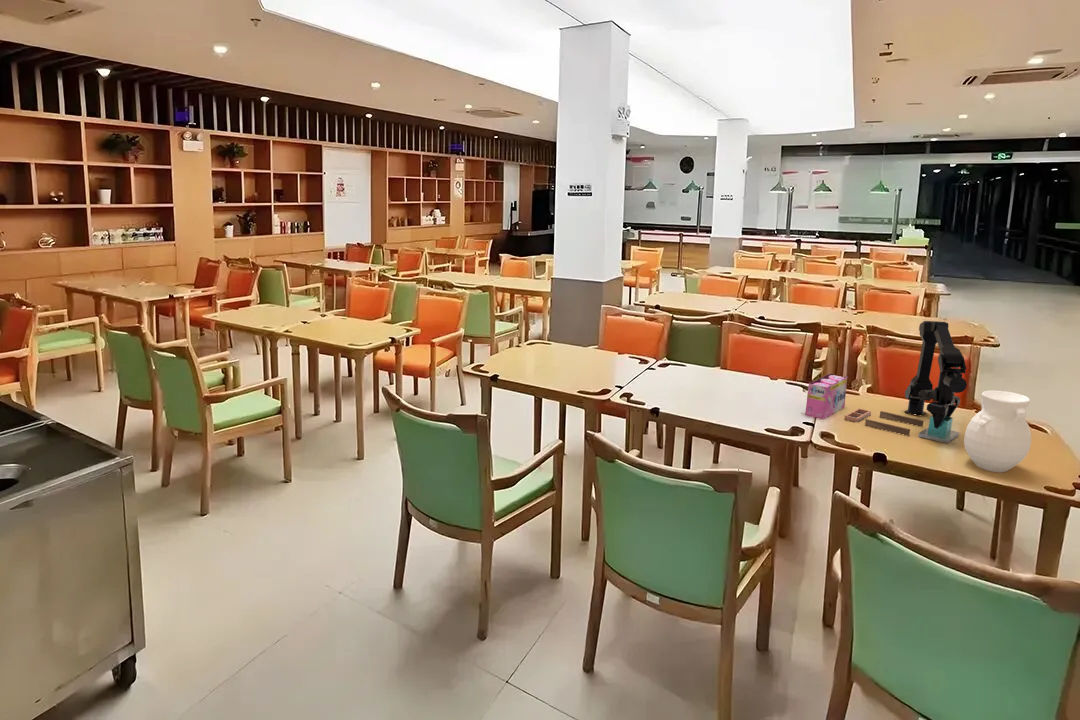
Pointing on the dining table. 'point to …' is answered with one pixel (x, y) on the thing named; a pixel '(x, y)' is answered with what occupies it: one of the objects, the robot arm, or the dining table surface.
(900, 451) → the dining table surface
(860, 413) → the tray
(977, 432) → the white vase
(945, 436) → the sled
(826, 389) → the gum box
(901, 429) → the walnut channel
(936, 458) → the dining table surface
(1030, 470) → the dining table surface
